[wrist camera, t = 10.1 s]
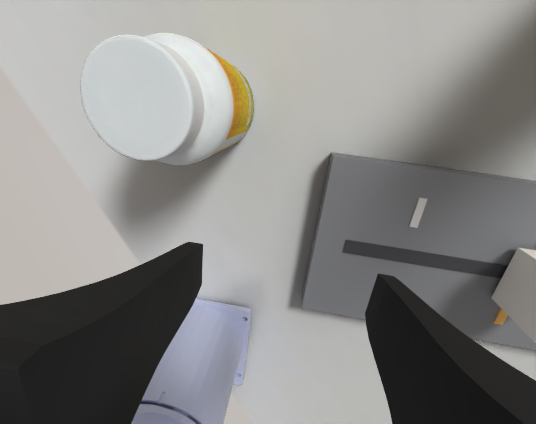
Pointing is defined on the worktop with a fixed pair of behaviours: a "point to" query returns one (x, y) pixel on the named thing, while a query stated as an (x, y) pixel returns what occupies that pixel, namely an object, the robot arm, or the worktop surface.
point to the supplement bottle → (164, 98)
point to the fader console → (420, 241)
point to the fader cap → (519, 291)
